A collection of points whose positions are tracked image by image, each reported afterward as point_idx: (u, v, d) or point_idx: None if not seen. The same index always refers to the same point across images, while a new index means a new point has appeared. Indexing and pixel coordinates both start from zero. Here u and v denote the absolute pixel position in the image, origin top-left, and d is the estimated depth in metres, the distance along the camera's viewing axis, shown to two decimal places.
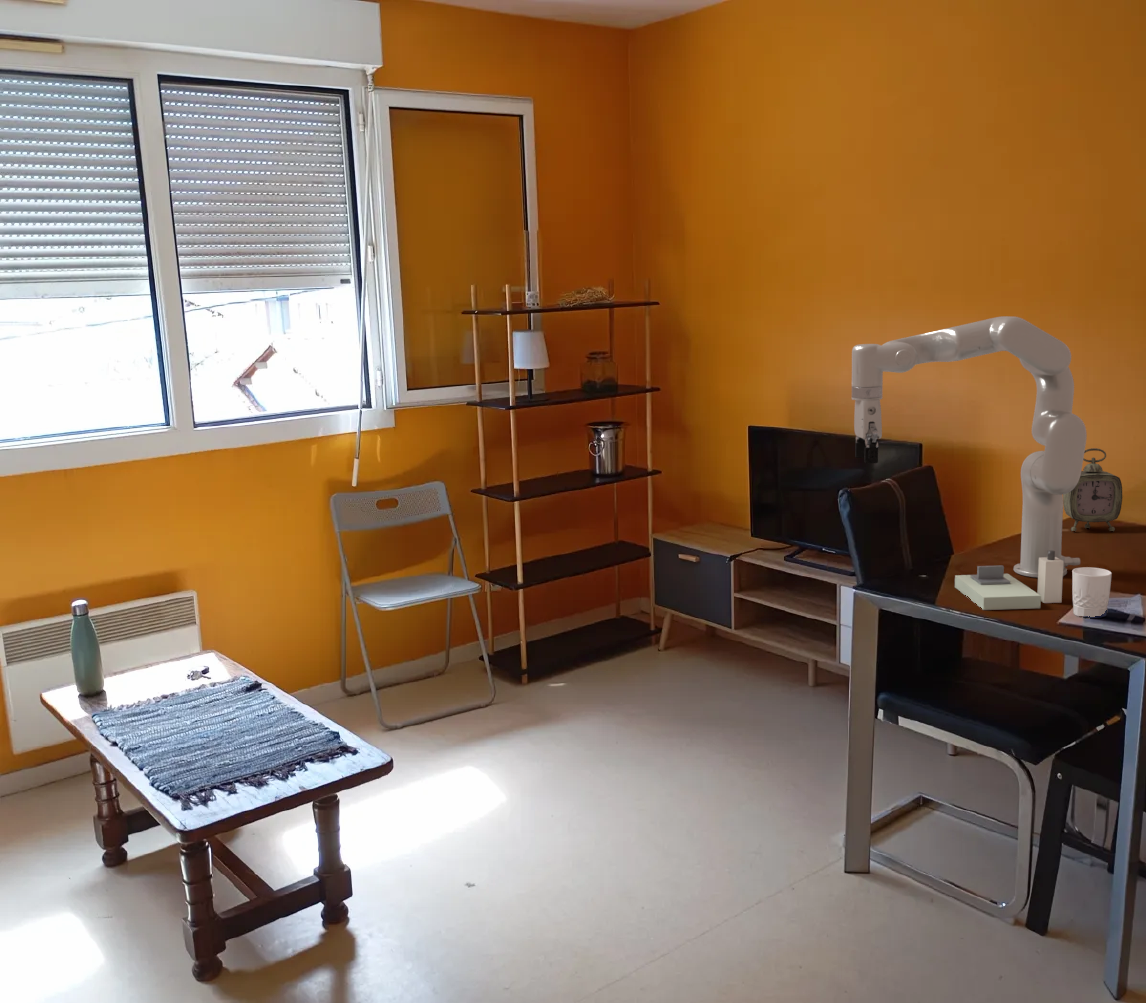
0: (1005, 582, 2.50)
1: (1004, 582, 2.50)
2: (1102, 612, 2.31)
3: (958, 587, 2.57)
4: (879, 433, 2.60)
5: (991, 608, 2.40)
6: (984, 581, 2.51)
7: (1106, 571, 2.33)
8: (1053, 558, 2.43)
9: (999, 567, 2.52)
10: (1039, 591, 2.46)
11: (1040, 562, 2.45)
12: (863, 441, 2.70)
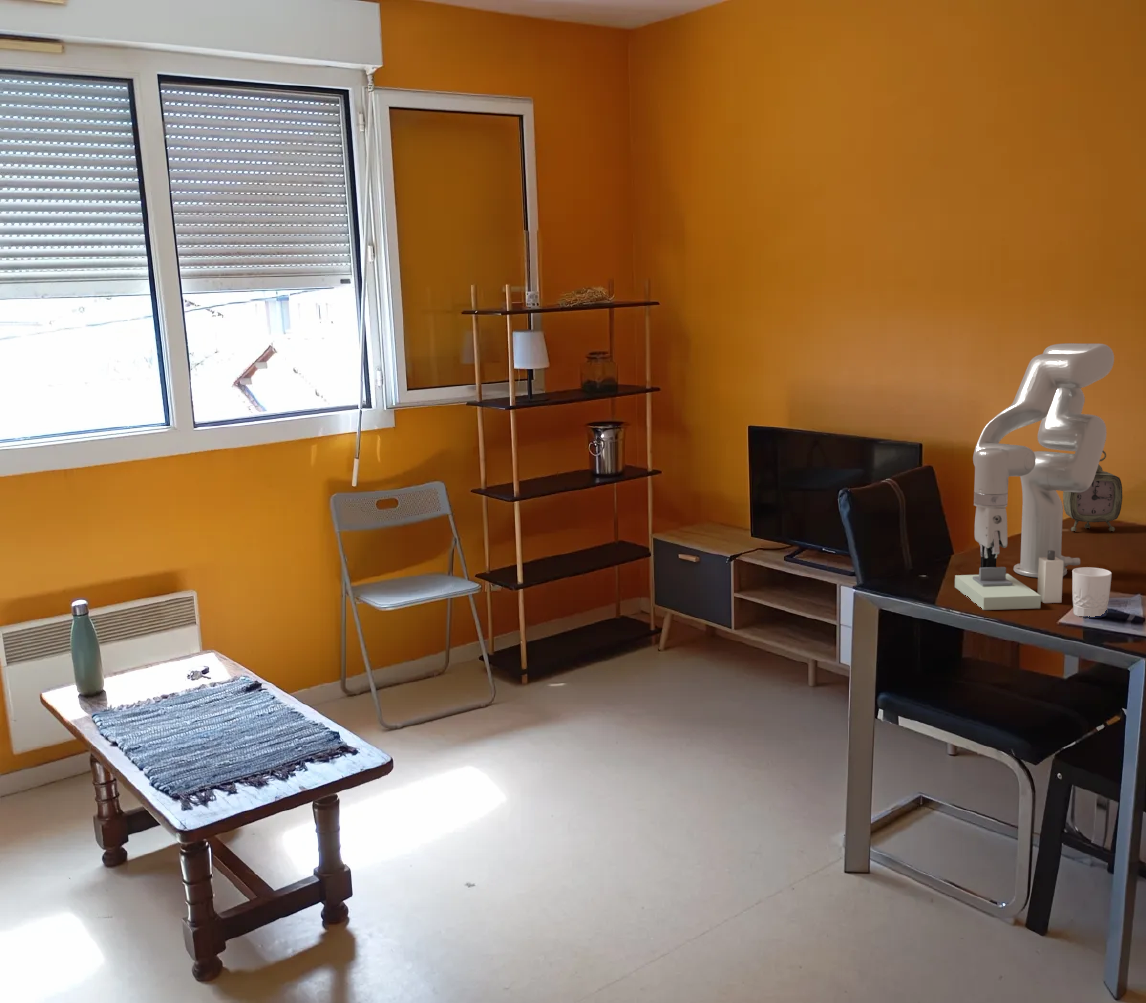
0: (1007, 584, 2.49)
1: (1006, 584, 2.49)
2: (1102, 612, 2.31)
3: (958, 587, 2.57)
4: (1005, 543, 2.48)
5: (991, 608, 2.40)
6: (986, 583, 2.50)
7: (1106, 571, 2.33)
8: (1053, 558, 2.43)
9: (1001, 568, 2.51)
10: (1039, 591, 2.46)
11: (1040, 562, 2.45)
12: None
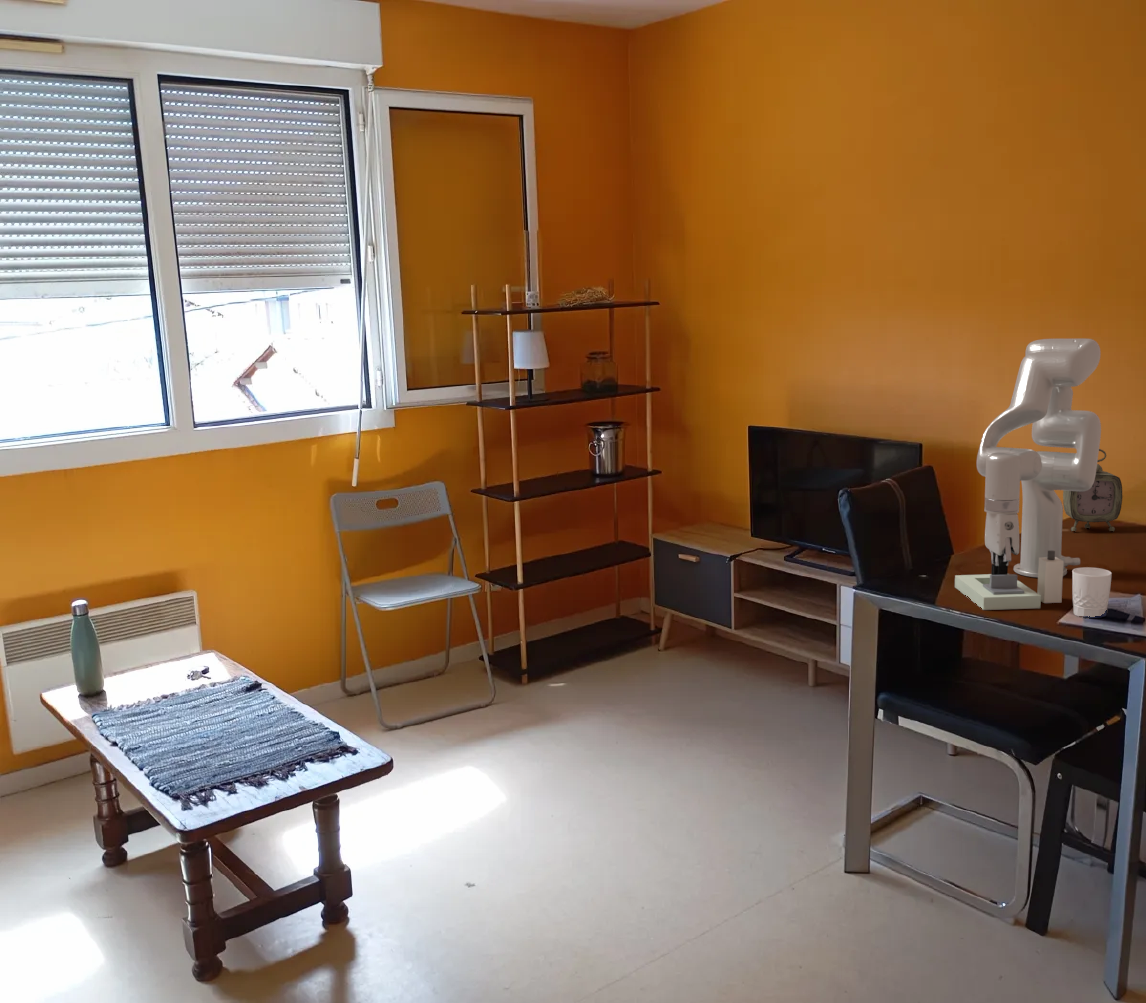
0: (1019, 591, 2.42)
1: (1018, 591, 2.42)
2: (1102, 612, 2.31)
3: (958, 587, 2.57)
4: (1017, 550, 2.41)
5: (991, 608, 2.40)
6: (997, 590, 2.43)
7: (1106, 571, 2.33)
8: (1053, 558, 2.43)
9: (1012, 576, 2.44)
10: (1039, 591, 2.46)
11: (1040, 562, 2.45)
12: None
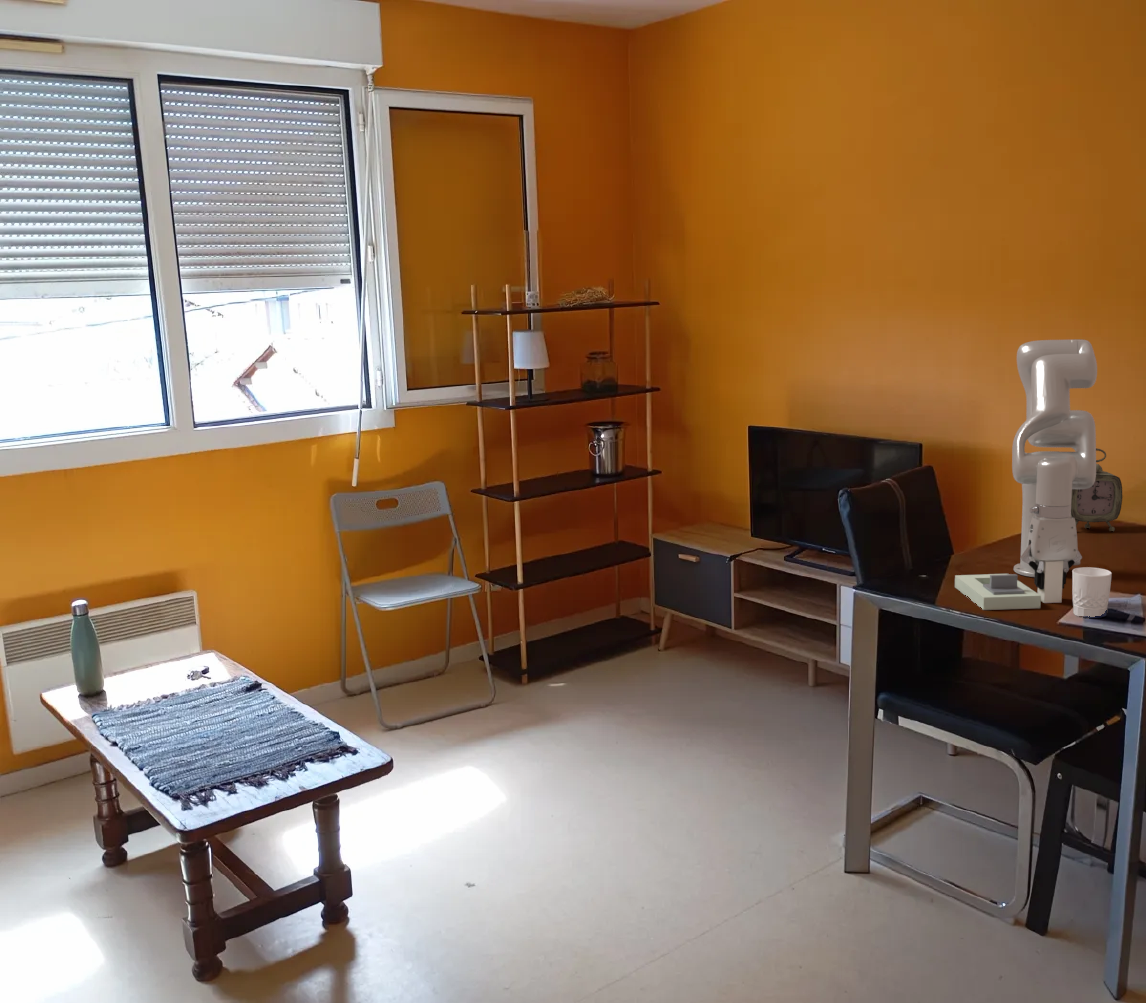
0: (1019, 592, 2.42)
1: (1018, 592, 2.42)
2: (1102, 612, 2.31)
3: (958, 587, 2.57)
4: (1033, 555, 2.42)
5: (991, 608, 2.40)
6: (997, 590, 2.43)
7: (1106, 571, 2.33)
8: None
9: (1013, 576, 2.44)
10: (1039, 591, 2.46)
11: None
12: None
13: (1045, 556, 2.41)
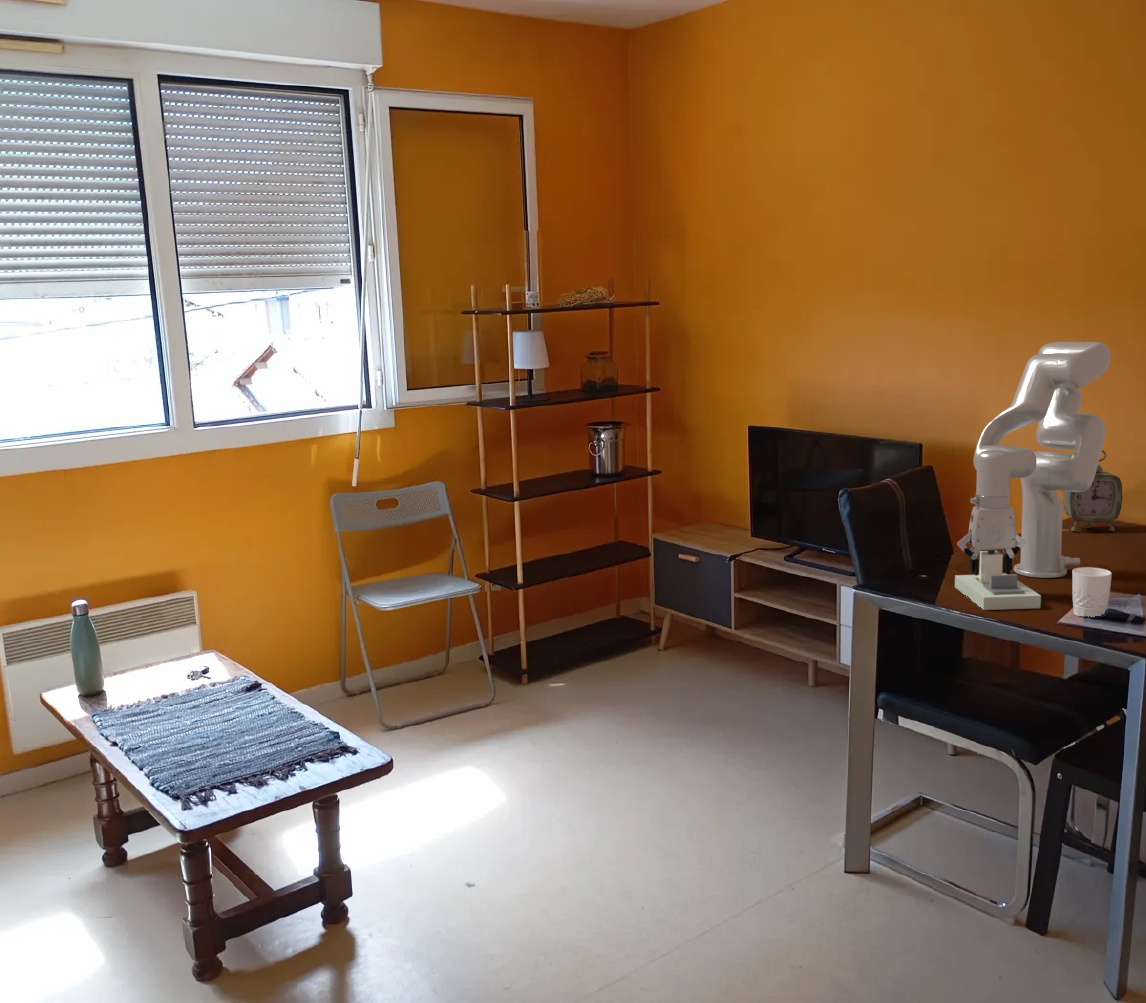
0: (1019, 592, 2.42)
1: (1018, 592, 2.42)
2: (1102, 612, 2.31)
3: (958, 587, 2.57)
4: (973, 544, 2.50)
5: (991, 608, 2.40)
6: (997, 590, 2.43)
7: (1106, 571, 2.33)
8: (993, 552, 2.51)
9: (1013, 576, 2.44)
10: None
11: (981, 556, 2.53)
12: (1006, 555, 2.52)
13: (985, 545, 2.49)
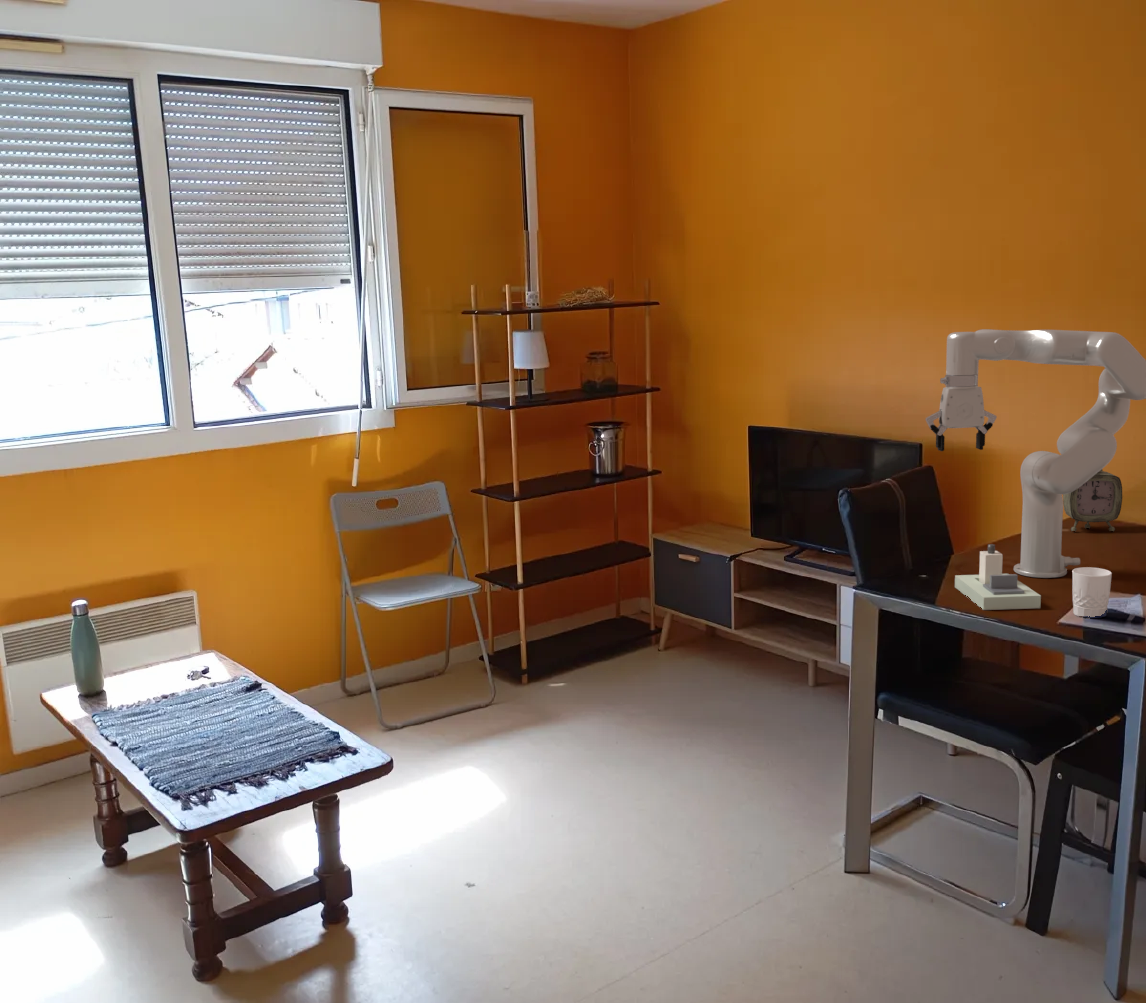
0: (1019, 592, 2.42)
1: (1018, 592, 2.42)
2: (1102, 612, 2.31)
3: (958, 587, 2.57)
4: (943, 422, 2.60)
5: (991, 608, 2.40)
6: (997, 590, 2.43)
7: (1106, 571, 2.33)
8: (993, 552, 2.52)
9: (1013, 576, 2.44)
10: None
11: (981, 556, 2.53)
12: (979, 432, 2.62)
13: (954, 423, 2.59)
